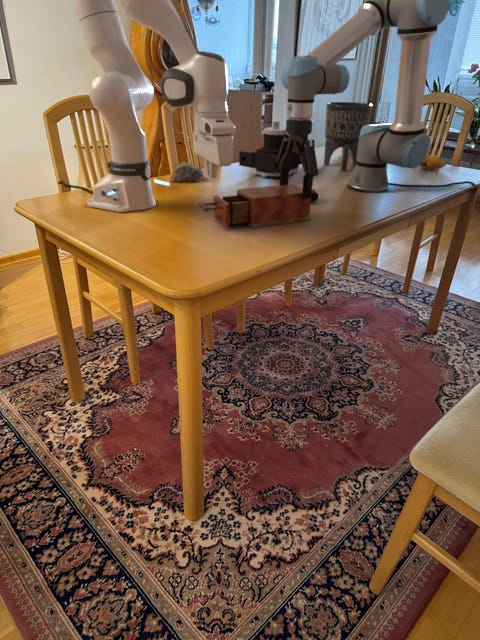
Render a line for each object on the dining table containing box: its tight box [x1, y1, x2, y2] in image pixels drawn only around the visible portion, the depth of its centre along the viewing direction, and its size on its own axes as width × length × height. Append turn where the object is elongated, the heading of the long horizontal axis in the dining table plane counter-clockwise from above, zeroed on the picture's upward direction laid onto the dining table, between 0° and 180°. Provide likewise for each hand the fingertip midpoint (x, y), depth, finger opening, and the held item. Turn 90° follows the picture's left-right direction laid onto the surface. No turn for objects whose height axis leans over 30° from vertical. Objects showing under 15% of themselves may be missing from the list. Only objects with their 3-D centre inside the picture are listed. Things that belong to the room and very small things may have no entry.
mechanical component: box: [238, 120, 302, 178], centre depth 191 cm, size 22×21×30 cm
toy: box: [418, 154, 447, 171], centre depth 211 cm, size 11×6×15 cm
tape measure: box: [311, 188, 319, 202], centre depth 158 cm, size 7×7×4 cm
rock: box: [170, 161, 204, 183], centre depth 180 cm, size 13×9×6 cm, turn 131°
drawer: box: [197, 194, 251, 228], centre depth 135 cm, size 24×10×7 cm, turn 115°
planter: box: [323, 101, 374, 172], centre depth 204 cm, size 20×20×26 cm
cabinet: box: [236, 183, 312, 229], centre depth 139 cm, size 20×11×9 cm, turn 115°
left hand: (211, 176), depth 126 cm, fingers closed
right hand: (294, 193), depth 140 cm, fingers open, 13 cm apart
